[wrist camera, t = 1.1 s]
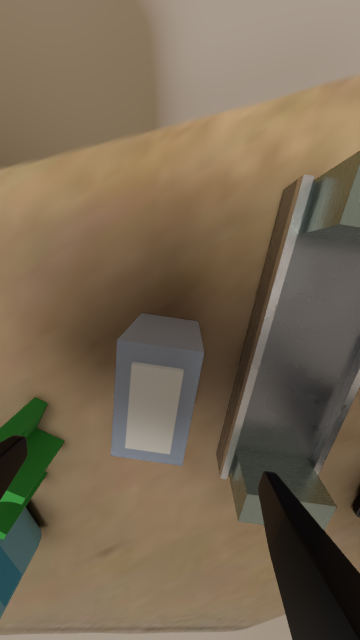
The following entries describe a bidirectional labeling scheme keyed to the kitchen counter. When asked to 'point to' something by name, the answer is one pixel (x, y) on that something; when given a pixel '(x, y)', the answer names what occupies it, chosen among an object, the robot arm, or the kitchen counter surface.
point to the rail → (299, 347)
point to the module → (156, 388)
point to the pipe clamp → (26, 461)
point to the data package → (17, 554)
